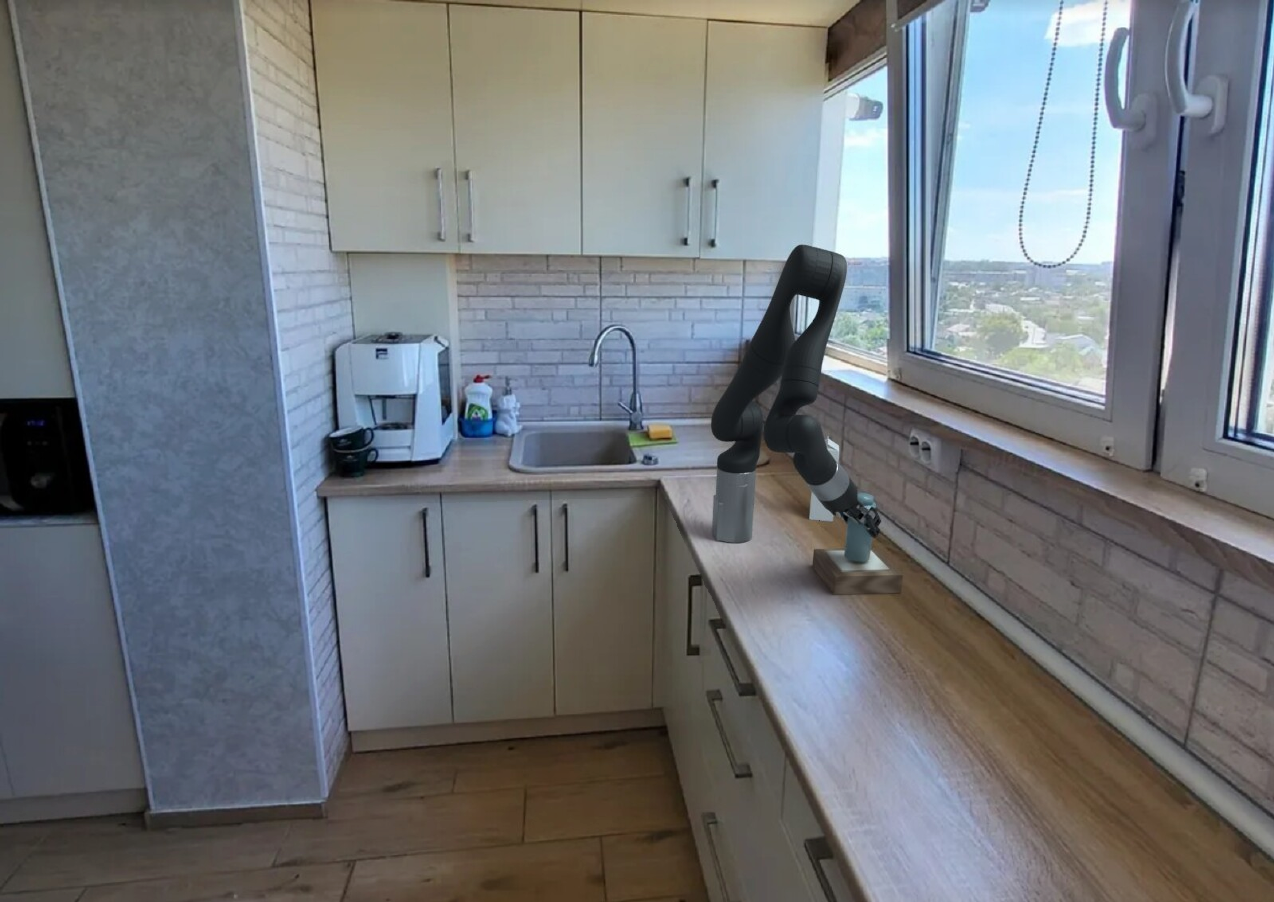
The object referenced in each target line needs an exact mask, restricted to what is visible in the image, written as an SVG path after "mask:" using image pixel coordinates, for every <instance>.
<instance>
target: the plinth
mask: <svg viewBox="0 0 1274 902" xmlns="http://www.w3.org/2000/svg"><path fill="white" fill-rule="evenodd" d="M844 551H845V547H844V548H814V549H813V553H812V554H813V555H812V567H813V569H814V570H815V571H816V573H817V574H818V576H819V577H820V578H821V579H822V581H823V582H824V583H825V585H826V586H827V587H828V588H829V590H830V591H831V592H832V594H833V595H835V596H836V595H840V596H841V595H872V594H873V595H875V594H877V595H879V594H880V595H881V594H901V593H902V587H903V586H902V585H903V580H904V579H903V578H904V574H903V573H902V572H901V571H900V570H899V569H898V568H896V566H894V564H893V563H892V562H891V561H890V560H889V559H888V558H887V557H886V556H884V554H883V553H882V552H880V550H879V549H878V548H876V547H871V552H870V559H869V560H868V561H864V562H858V561H852V560H849V559H847V558H846V557H845V556H844Z"/></svg>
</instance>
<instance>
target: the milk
mask: <svg viewBox="0 0 1274 902" xmlns="http://www.w3.org/2000/svg"><path fill="white" fill-rule="evenodd" d="M824 439H825V442H826V446H827V449H828V451H829V452H830V453H831V455H832V456H833V458H834V459H835V460H836V461H837V462H838V463H839V460H840V459H839V458H840V445H839V444H838V443H836V442H835V441H833V440H831V439H830V438H829V437H827V438H824ZM810 494H811V495H810V503H809V517H808V518H809V519H808V520H811V521H819V520H820V521H822V522H829V523H830V522H831V523H833V522H834V515H833V514H832V513H831V512H830V511H829V510H827V509H826V508H825V507H824V506H823V505H822V504H821V502H820V501H819V500H818V499H817V497H816V496H815V495H814V494H813V492H812V491H811V490H810Z"/></svg>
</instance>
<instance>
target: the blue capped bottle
mask: <svg viewBox="0 0 1274 902" xmlns="http://www.w3.org/2000/svg"><path fill="white" fill-rule="evenodd" d="M858 499H859V500H860V501H861V503H862V504H863V505H864V506H865V507H866V508H867V509H870V508H871V507H874V508H875V509H876V506H877V504H876V502H875V501H874V495H872V494H870V493H866V492H858ZM860 515H861V513H860ZM860 515H859V516H860ZM859 516H858V517H856V518H857V519H858V518H859ZM864 522H865V523H867V522H866V520H864ZM872 542H873V537H871V535H870V534H869V533H868V532H867V530H866V529H865V528H864V527H863V526H862V525H861V524H857V523H855V522H854V521H853V520H852V519H851V518H850V517H849V516H848V522H847V524H846V533H845V545H844V548H845V551H844V556H845V557H846V558H847V559H849V560H852V561H858V562H864V561H868V560H869V559H870V552H871V548H872Z"/></svg>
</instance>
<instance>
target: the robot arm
mask: <svg viewBox="0 0 1274 902" xmlns="http://www.w3.org/2000/svg"><path fill="white" fill-rule="evenodd" d="M783 266H784V267H783V268H782V270H781V274H780V276H779V278H778V281H777V284H776V287H775V289H774V292H773V294H772V297H771V299H770V302H769V304H768V307H767V309H766V311H765V313H764V315H763V316H762V319H761V321H760V323H759V325H758V327H757V329H756V330H755V333H754V334H753V336H752V339H751V340H750V343H749V345H748V346H747V348H746V351H745V352H744V356H743V357H742V360H741V363H740V365H738V366H739V367H738V368H737V370H736V372H735V374H734V375H733V378H732V380H731V382H729V385H728V386H727V388H726V390H725V391H724V392H723V393H722V396H721V397H720V399H719V400H718V401H717V402H716V403H717V404H716V405H715V407H714V410H713V412H712V415H711V419H710V420H711V421H710V429H711V432H712V435H713V436H714V438H715V439H716V440H718V441H720V442H725V443H726V442H727V443H730V442H731V443H733V442H734V443H733V444H732V445H731V447H729V448H728V449H726V450H725V451H723V452H721V453H720V454H719V455H718V456H717V458H716V460H717V461H716V477H715V478H716V481H715V483H716V484H715V494H714V495H713V499H712V501H713V503H712V526H711V532H712V535H713V536H714V538H715V540H716V541H720V542H721V541H722V542H726V543H732V544H733V543H735V544H737V543H738V544H739V543H746V542H748V541H750V540H752V537H753V530H754V529H753V528H754V527H753V526H754V523H753V522H754V509H755V492H756V479H757V478H756V477H757V476H756V475H757V464H758V461H759V459H760V454H761V444H762V437H763V440H764V443H765V445H766V447H767V449H769V451H771V452H774V453H783V454H784V453H785V454H787V453H789V454H790V453H791V454H792V453H793V457H792V464H793V466H794V468H795V470H796V471H797V473H798V474H799V475H800V477H801V478H802V479H803V480H804V481H805V482H806V485H807V487H808V488H809V490H810V492H811V491H812V492H813V494H814V495H815V496H816V497H817V499H818V500H819V501H820V502H821V504H822V505H823V506H824V507H825V508H826V509H827V510H829V511H830V512H831V513H832V514H833V516H838V518H839V519H840V520H842V521H844V522H845V524H846V525H847V522H848V516H849V517H850V518H851V519H852V520H853V521H854V522H855V523H857V524H861V525H862V526H863V527H864V528H865V529H866V530H867V532H868V533H869V534H870V535H871V537H872V539H876V538H877V537H878V536H879V534H880V533H881V531H882V530H881V529H880V527H879V526H880V524H881V523H882V520H881V518H880V517H881V516H880V515H879V512H878V510H877V509H876V507H875V508H874V507H871V508H870V509H867V508H866V507H865V506H864V505H863V504H862V503H861V501H860V500H859V499H858V493H859V492H858V487H857V485H856V484H855V482H854V481H853V480H852V478H851V477H850V475H848V473H847V472H846V470H845V469H844V468H843V466H842V465H841V464H840V463H839V461H838V462H837V461H836V460H835V459H834V458H833V456H832V455H831V453H830V452H829V451H828V449H827V446H826V442H825V439H826V438H825V437H824V433H823V432H824V431H823V428H822V426H821V425H822V424H820V422H819V421H818V420H817V419H816V418H814V417H813V416H811V415H808V414H797V413H798V411H799V410H800V409H802V408H803V407H805V406H806V407H807V406H809V405H811V404H813V403H815V402H816V401H817V398H818V395H819V394H818V393H819V389H820V388H819V387H820V381H821V375H822V369H823V362H824V358H825V353H826V349H827V344H828V342H829V338H830V335H831V333H832V329H833V326H834V323H835V320H836V315H837V312H838V309H839V305H840V301H841V299H842V296H843V292H844V291H843V290H844V288H845V284H846V279H847V273H848V270H847V269H848V263H847V259H846V258H845V256H844V255H842V254H841V253H838V252H835V251H831V250H827V249H823V248H820V247H817V246H812V245H807V244H798V245H796V246H795V247H794V248H793V249H792V251H791V252H790V254H789V255H788V257H787V259H786V261H785V264H784V265H783ZM795 296H802V297H806V298H809V299H814V300H818V308H817V311H816V312H815V313H816V314H815V316H814V317H813V319H812V321H811V323H810V324H809V325H808V326H807V327H806V328H805V330H804V331H803V332H802V333H801V334H800V335H799V336H798V337H797V338H796V336H795V335H796V334H795V332H794V327H793V323H792V319H791V304H792V302H793V299H794V297H795ZM780 378H781V379H780ZM778 380H780V383H779V384H780V385H779V390H778V392H777V395H776V396H775V398H774V401H773V403H772V405H771V407H770V410H769V413H768V414H767V417H766V419H765V421H764V417H763V411H762V408H761V407H760V405H759V403H757V401H754V400H755V399H756V398H757V397H758V396H760V395H761V394H762V393H764V392H765V391H766V390H768V389H769V388H770V387H772V386H773V385H774V384H775V383H776V382H777V381H778ZM860 513H861V515H860ZM859 515H860V516H859ZM858 516H859V518H858V519H857V518H856V517H858ZM864 520H866V522H867V523H865V522H864Z"/></svg>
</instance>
